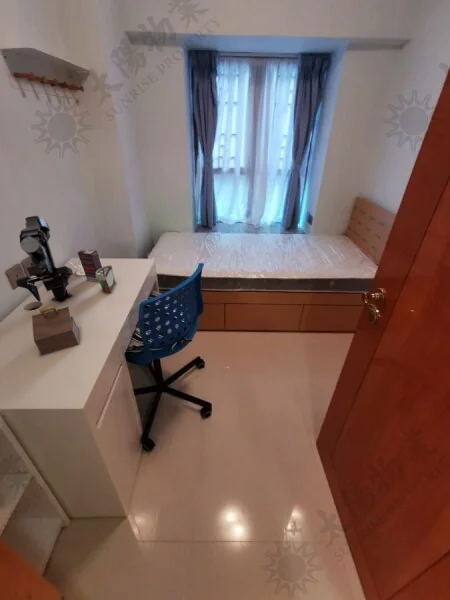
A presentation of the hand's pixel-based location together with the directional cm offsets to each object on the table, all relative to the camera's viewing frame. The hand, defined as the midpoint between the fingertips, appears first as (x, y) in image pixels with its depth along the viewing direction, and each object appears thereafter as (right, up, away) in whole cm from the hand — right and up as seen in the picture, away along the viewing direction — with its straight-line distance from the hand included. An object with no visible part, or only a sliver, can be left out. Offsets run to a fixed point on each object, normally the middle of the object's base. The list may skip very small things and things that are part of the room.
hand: (51, 297), depth 109 cm
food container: (+9, +5, +30) cm, 32 cm away
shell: (-11, +15, +47) cm, 50 cm away
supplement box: (-1, +10, +39) cm, 40 cm away
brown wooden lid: (+4, -10, -6) cm, 12 cm away
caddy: (+5, -17, -2) cm, 17 cm away
